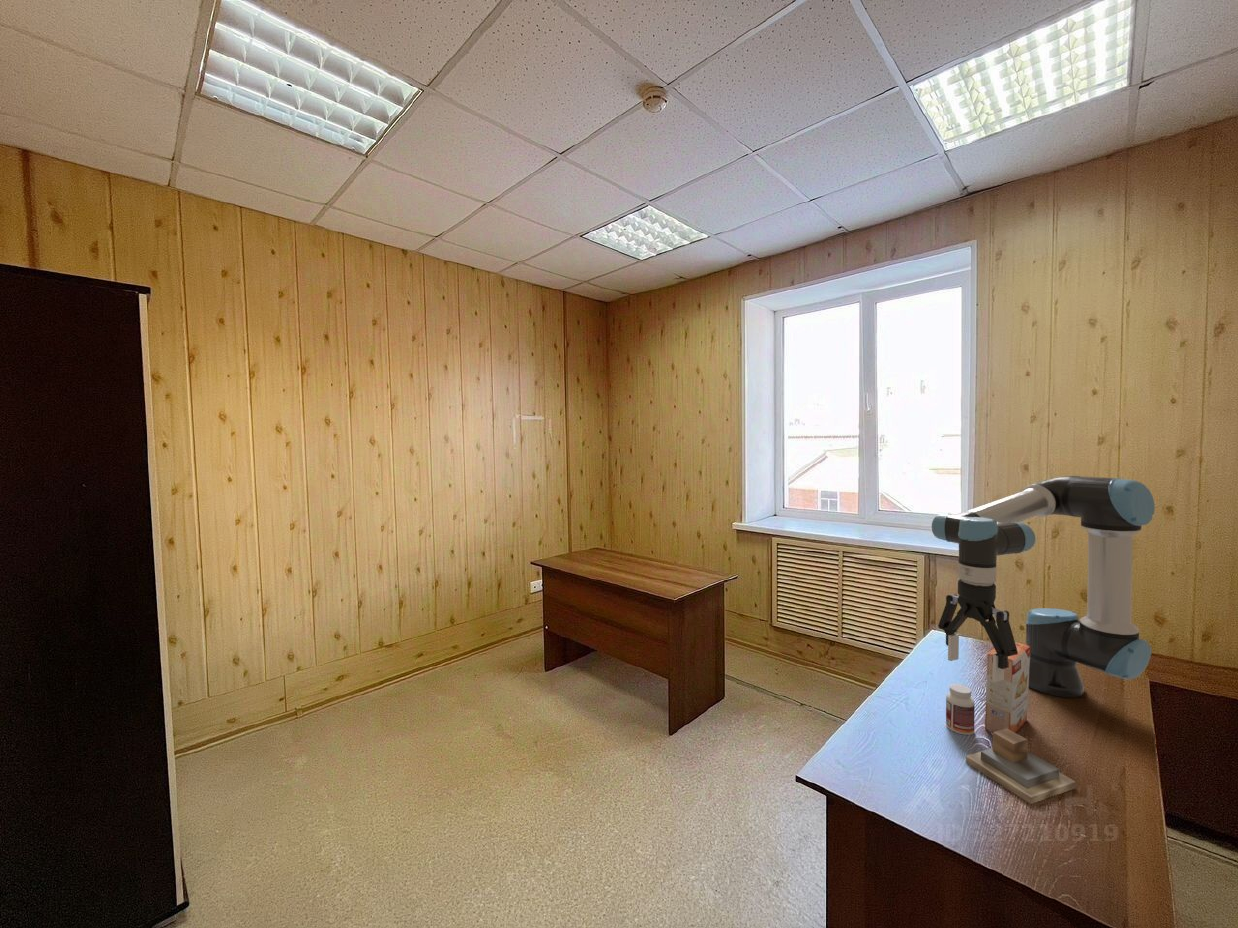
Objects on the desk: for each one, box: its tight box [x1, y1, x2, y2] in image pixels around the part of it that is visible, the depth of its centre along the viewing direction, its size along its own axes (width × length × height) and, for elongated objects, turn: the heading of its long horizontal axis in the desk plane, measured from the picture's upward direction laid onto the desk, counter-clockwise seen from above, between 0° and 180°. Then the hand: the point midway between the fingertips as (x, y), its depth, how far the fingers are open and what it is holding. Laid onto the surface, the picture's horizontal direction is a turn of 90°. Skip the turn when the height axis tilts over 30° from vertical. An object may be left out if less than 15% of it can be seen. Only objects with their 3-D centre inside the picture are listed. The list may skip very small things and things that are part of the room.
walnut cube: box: [992, 728, 1029, 763], centre depth 113 cm, size 4×4×4 cm
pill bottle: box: [945, 683, 976, 736], centre depth 129 cm, size 6×6×11 cm
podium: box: [965, 747, 1077, 805], centre depth 111 cm, size 14×14×4 cm
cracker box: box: [984, 641, 1030, 734], centre depth 129 cm, size 14×6×21 cm, turn 126°
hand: (974, 669), depth 120 cm, fingers open, 10 cm apart
